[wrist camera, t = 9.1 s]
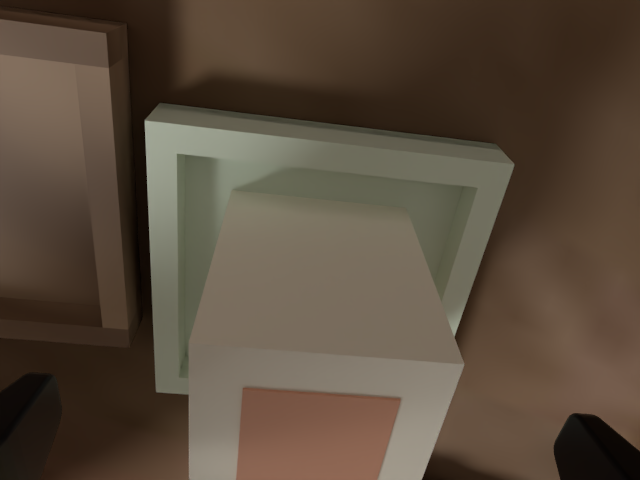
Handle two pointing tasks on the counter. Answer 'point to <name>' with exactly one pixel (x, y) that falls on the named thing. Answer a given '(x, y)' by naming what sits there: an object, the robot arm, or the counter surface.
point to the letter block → (317, 346)
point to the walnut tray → (67, 181)
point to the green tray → (310, 182)
